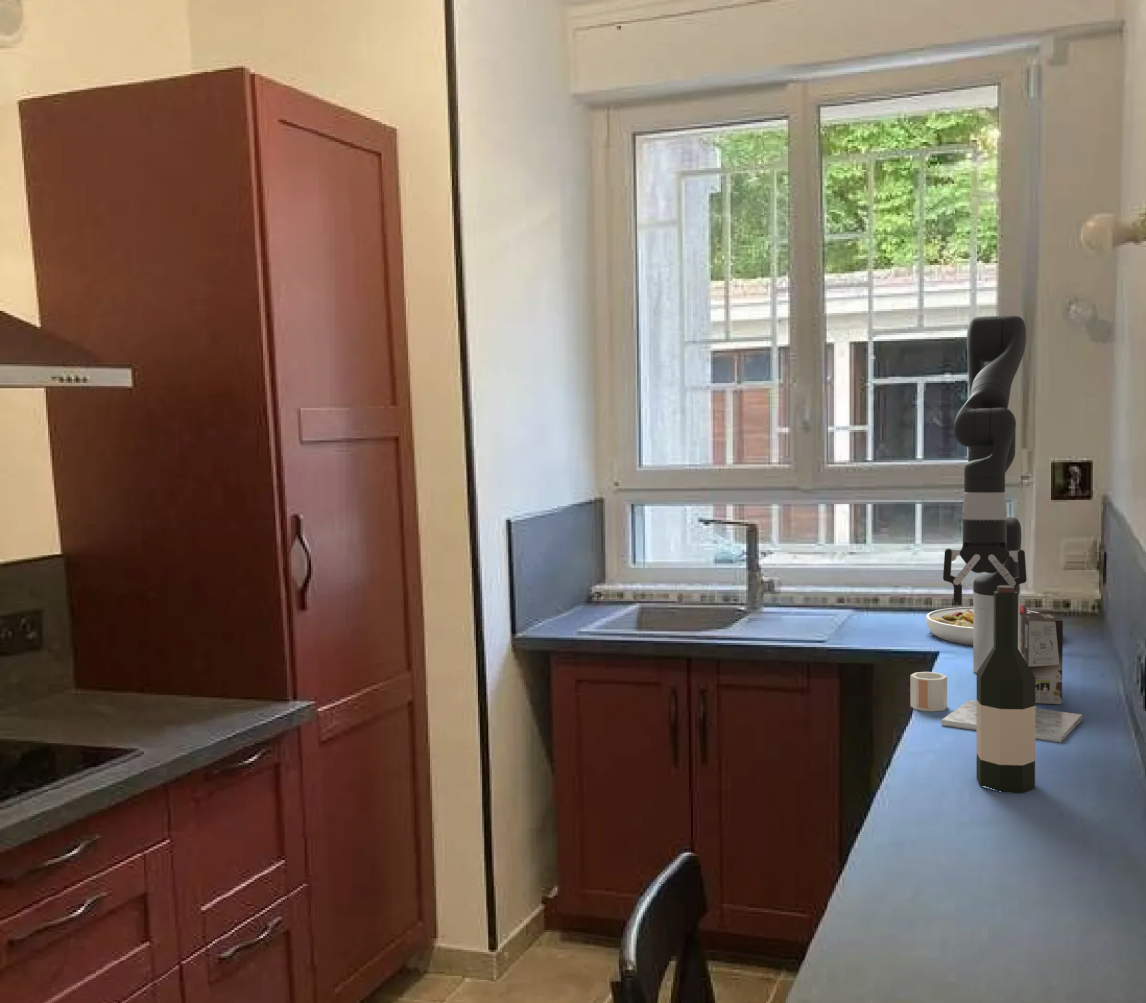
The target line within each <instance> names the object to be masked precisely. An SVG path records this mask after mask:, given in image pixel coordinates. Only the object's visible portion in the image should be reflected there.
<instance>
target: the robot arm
mask: <svg viewBox="0 0 1146 1003" xmlns="http://www.w3.org/2000/svg"><path fill="white" fill-rule="evenodd" d="M1026 330H1027V329H1026V323H1025V321H1024V319H1023V318H1022V317H1021V316H1019V315H1009V314H1008V315H987V316H986V315H985V316H983V315H982V316H974V317H972V318H971V319H970V320H969V322H968V325H967V332H966V350H967V351H966V352H967V368H968V370H967V371H968V391H969V392H968V396H969V397H968V399H967V400H966V402H965V403H964V404H963V405H962V407H961V408H960V409H959V411H958V412H957V414H956V417H955V419H954V422H953V428H952V429H953V431H952V432H953V435H954V438H955V440H956V441H957V442H958V444H959V445H961V446H964V447H967V460H968V461H967V462H966V463H965V465H964V469H963V471H964V472H963V475H964V476H963V478H964V479H963V480H964V481H963V482H964V483H963V484H964V485H963V486H964V487H963V489H964V493H963V502H962V513H961V514H962V546H961V549H952V548H949V547H948V548H946V549H945V551H944V559H943V560H944V561H943V573H942V575H943V576H942V579H943V581H945V582H947V583H950V584H952V586H953V601H954V603H957V606H961V607H962V606H963V584H962V582H963V580H964V579H965V578H966V576H968V575H969V573H970V572H973V573H976V574H977V573H978V574H980V573H981V574H982V573H986V574H984V575H981V576H978V577H976V578H975V579H974V580H973V585H972V586H973V587H972V588H973V589H972V590H973V592H972V594H973V601H972V602H973V605H972V607H973V645H972V646H973V647H972V649H973V650H972V660H973V661H972V671H973V672H974V673H976V674H977V671H978V669H979V668H980V666H981V665H982V663H983V662H984V660H985V659H986V657H987V656H988V654H989V653H990V651H991V650H992V648H993V647H994V591H997V586H1000V585H1009V586H1014V587H1015V591H1016V592H1018V650H1019V613H1020V604H1021V603H1020V602H1021V595H1020V594H1021V592H1020V591H1021V584H1025V583H1027V581H1028V580H1027V569H1026V568H1027V565H1026V553H1025V552H1026V551H1025V550H1024V549H1022V526H1021V523H1020V521H1019V520H1018V519H1017V518H1016V517H1013V516H1008V512H1007V511H1008V510H1007V498H1006V473H1007V471H1008V470H1009V468H1010V467H1011V465H1012V463H1013V462H1014V459H1015V456H1016V437H1017V436H1016V430H1017V429H1016V428H1017V421H1016V417H1015V415H1014V413H1013V412H1012V411H1011V410H1010V409H1009V408H1008V407H1009V404H1010V396H1011V388H1012V384H1013V382H1014V379H1015V376H1016V374H1017V373H1018V369H1019V368H1020V364H1021V362H1022V359H1023V357H1024V353H1025V350H1026V342H1027V331H1026ZM986 362H990V363H988V364H987V365H986V366H985V363H986ZM958 556H960V558H961V559H962V560H963V562H964V563H965V565H964V567H963V568H962V569H961V570H960V572H959V573H958V574H957V575H956V576H954V575H952V562H954V561H956V559H957V557H958Z"/></svg>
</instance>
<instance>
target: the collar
mask: <svg viewBox="0 0 1146 1003" xmlns="http://www.w3.org/2000/svg"><path fill="white" fill-rule="evenodd" d="M909 684H910V699H909V700H910V705H909V706H910V707H911V708H913V709H914V710H918V709H919V710H918V711H921V712H922V711H923V712H942V711H945V710H947V708H948V676H947V675H945V674H944V673H942V672H941V673H940V672H933V671H932V672H931V671H920V672H916V671H915V672H914V673H912V674H910V681H909Z"/></svg>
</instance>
